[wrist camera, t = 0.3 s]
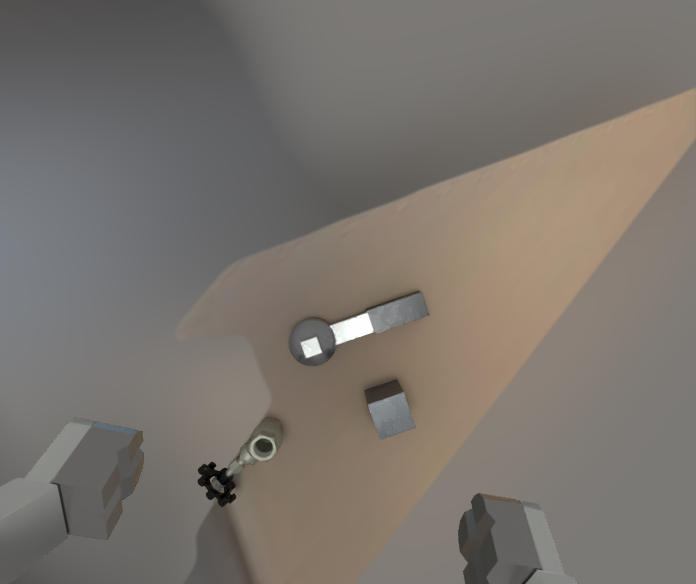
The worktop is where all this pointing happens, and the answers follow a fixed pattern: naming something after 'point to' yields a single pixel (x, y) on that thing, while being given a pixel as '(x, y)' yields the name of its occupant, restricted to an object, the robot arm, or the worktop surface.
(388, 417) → the plain grey cube
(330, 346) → the ratchet
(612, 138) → the worktop surface
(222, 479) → the valve
